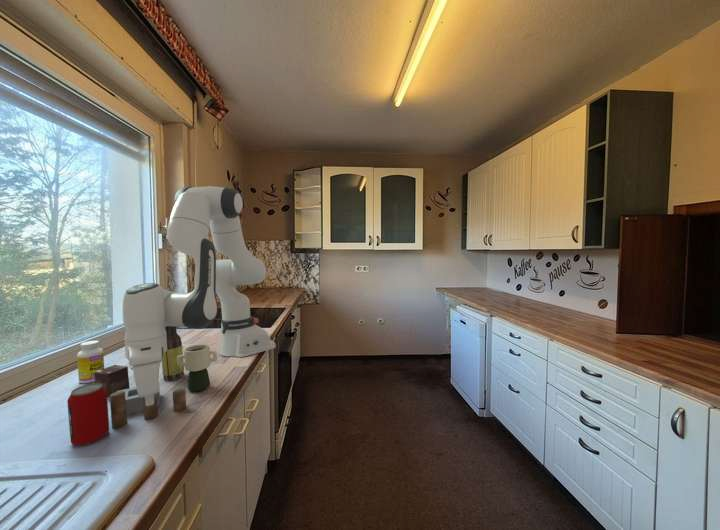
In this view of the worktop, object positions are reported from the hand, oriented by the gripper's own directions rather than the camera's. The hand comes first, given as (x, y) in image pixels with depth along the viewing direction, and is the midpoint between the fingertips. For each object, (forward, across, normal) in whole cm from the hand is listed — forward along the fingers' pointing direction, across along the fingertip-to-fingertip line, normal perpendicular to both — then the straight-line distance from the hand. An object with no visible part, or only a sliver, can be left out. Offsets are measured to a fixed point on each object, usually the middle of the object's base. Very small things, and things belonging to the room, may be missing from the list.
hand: (150, 399), depth 79 cm
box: (+5, -24, -10) cm, 26 cm away
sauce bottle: (+5, -25, +6) cm, 26 cm away
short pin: (+5, 0, +6) cm, 8 cm away
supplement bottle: (+5, -40, -17) cm, 44 cm away
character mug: (+5, -11, +12) cm, 17 cm away
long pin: (+5, 0, 0) cm, 5 cm away
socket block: (+5, -9, -3) cm, 11 cm away
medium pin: (+5, 0, -6) cm, 8 cm away
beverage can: (+5, +3, -12) cm, 13 cm away
